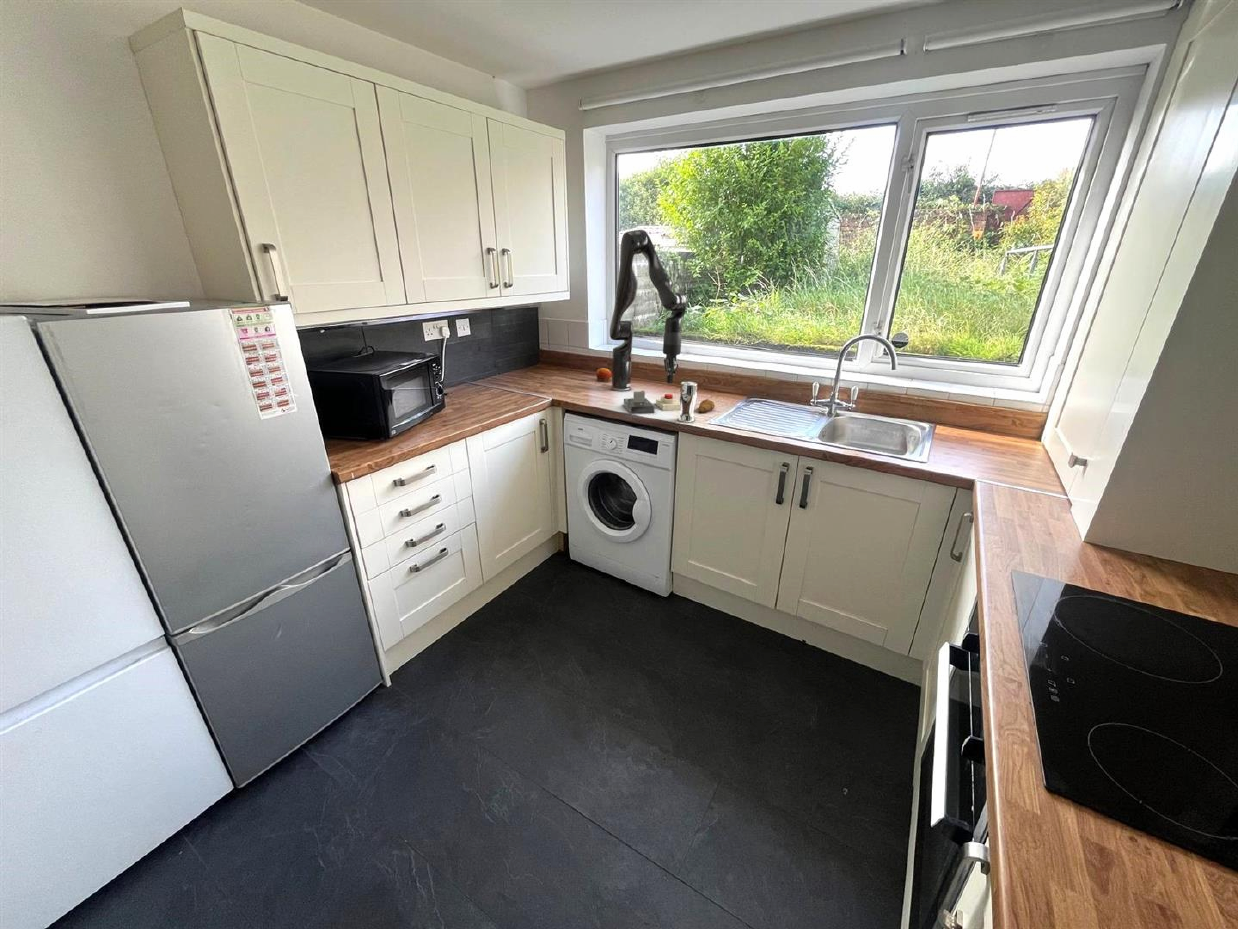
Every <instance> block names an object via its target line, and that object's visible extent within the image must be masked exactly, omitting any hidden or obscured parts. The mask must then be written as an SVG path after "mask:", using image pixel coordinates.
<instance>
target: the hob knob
mask: <svg viewBox="0 0 1238 929" xmlns="http://www.w3.org/2000/svg"><path fill="white" fill-rule="evenodd" d="M645 394H646V393H645V390H638V391H636V390H635V391H633V393H632V395H633V397H632V398H633V402H634V403H641V402H644V398H646V395H645Z"/></svg>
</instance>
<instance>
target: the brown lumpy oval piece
mask: <svg viewBox="0 0 1238 929" xmlns="http://www.w3.org/2000/svg"><path fill="white" fill-rule="evenodd" d="M715 407H716V405H715V402H714V401H713V400H711V399H709V398H706V399H704V400H702V401H700V403H699V405H698V410H699V413H701V414H702V413H703V414H704V413H708V412H710V411H712V410H713V409H714V408H715Z"/></svg>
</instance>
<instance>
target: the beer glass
mask: <svg viewBox="0 0 1238 929" xmlns="http://www.w3.org/2000/svg"><path fill="white" fill-rule="evenodd" d="M678 397H679V398H678V399H679V404H680V411H679V416H678V420H679V422H680V421H681V422H683V423H692V422H694V421H695V415H694V412H695V407H696V403H697V399H698V398H697V397H698V383H697V382H695V381H681V382H680V386H679V396H678Z"/></svg>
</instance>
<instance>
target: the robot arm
mask: <svg viewBox="0 0 1238 929" xmlns="http://www.w3.org/2000/svg"><path fill="white" fill-rule="evenodd" d="M640 254H642V255H643V256H644V258H645V259H646V261H647V264H648V265H647V266H648V276H649V279H650V282H651V283H652V285H653V287H654V288H655V289H656V291H657V293H658V297H659V299H660V302H661V305H662V307H663V308H664V309H665V310H667V311H669V312H670V315H669V316H668V317H666V318H665V320H664V334H663V340H662V341H663V342H662V343H663V344H662V354H664V355H665V358H664V359H663V364H664V365H663V366H664V371H665V373H666V383H667V384H669V385H670V384H673V382H674V375H676V374H677V371H678V368H679V364H678V359H677V356H679V355H681V354H682V353H681V352H682V338H683V336H682V328H683V320H684V317H685V314H686V310H687V306H688V299H687V297H686V295H685V293H683V292H678V291H677V292H674V291H673V290H672V289H673V287H674V282H673V280H672V279H671V277H670V276H669V274H668V273H667V271H666V269H665V268H664V266H663V265H662V263H661V260H660V258H659V256H658V253H657V251H656V249H655V247H654V244H653V241H652V239H651V237H650V235H649V234H648V233H647V231H646V230H645V229H635V230H628V231H626V232H624V233H623V235H622V236H621V240H620V256H619V267H618V268H619V271H618V277H617V283H616V288H615V297H614V298H615V299H614V306H613V311H612V315H611V320H610V325H609V337H610V339H611V340H612V341H623V342H622V343H621V344H620V345H618V346H615V347H613V349H612V361H611V362H612V368H611V370H612V371H611V373H612V374H611V379H612V380H611V390H613V391H617V392H627V391H630V390H631V388H632V387H631V385H632V383H631V382H632V353H633V352H632V351H633V350H632V349H633V339H634V325H633V324H634V323H633V321H631V320H627V319H626V320H625V319H624V320H622V317H623V316H624V314H625V312H626V311H628V309H629V308H630V307H631V305H632V304H633V303H634V302H635V300H636V298H637V292H638V285H639V283H638V279H637V276H636V274H635V272H634V269H633V263H634V262H633V261H634V257H635V256H636V255H640Z"/></svg>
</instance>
